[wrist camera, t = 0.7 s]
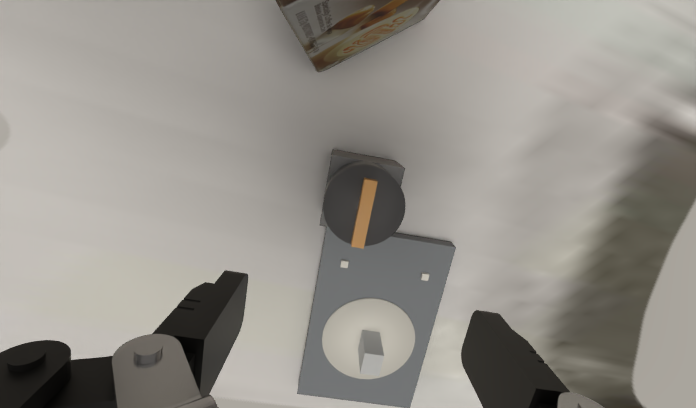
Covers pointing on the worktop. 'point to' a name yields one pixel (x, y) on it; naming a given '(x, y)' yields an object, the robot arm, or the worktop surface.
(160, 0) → the worktop surface
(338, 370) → the control panel
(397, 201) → the knob
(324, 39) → the coffee box
